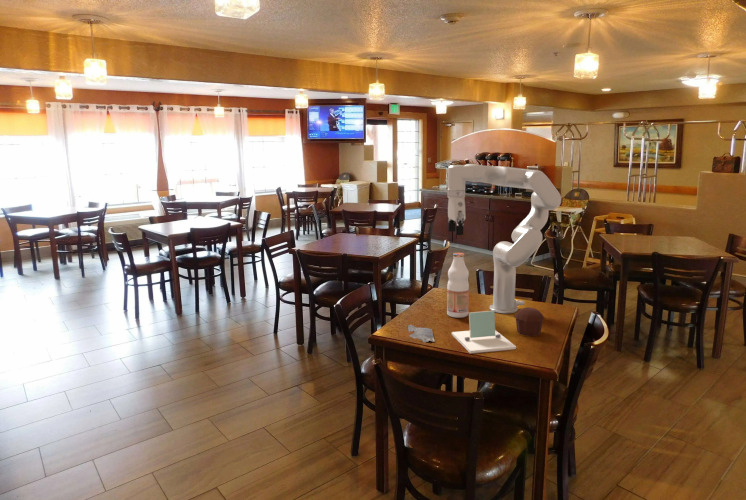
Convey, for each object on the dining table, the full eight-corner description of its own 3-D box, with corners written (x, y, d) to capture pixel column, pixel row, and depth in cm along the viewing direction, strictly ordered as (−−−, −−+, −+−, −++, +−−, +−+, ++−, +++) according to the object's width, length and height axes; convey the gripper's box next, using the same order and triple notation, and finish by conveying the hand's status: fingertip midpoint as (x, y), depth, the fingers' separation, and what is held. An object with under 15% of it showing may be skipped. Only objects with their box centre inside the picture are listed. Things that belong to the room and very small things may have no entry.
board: (493, 330, 213) (493, 325, 213) (516, 349, 194) (516, 343, 193) (451, 334, 210) (451, 329, 209) (470, 353, 190) (470, 347, 190)
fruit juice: (443, 316, 232) (444, 254, 227) (451, 310, 240) (452, 250, 235) (463, 319, 228) (464, 256, 222) (471, 313, 235) (472, 252, 230)
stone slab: (406, 324, 219) (430, 323, 219) (406, 329, 219) (430, 327, 219) (410, 342, 201) (435, 340, 201) (410, 346, 202) (436, 344, 202)
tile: (493, 310, 203) (494, 311, 202) (494, 335, 203) (495, 335, 202) (468, 312, 201) (469, 312, 200) (469, 337, 201) (470, 337, 200)
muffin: (508, 330, 214) (509, 306, 212) (530, 326, 218) (531, 303, 216) (527, 339, 203) (528, 315, 201) (550, 335, 208) (551, 311, 206)
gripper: (472, 195, 217) (471, 236, 221) (457, 192, 234) (456, 229, 238) (454, 196, 216) (454, 236, 219) (441, 192, 233) (441, 230, 236)
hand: (455, 233), depth 228 cm, fingers open, 9 cm apart
